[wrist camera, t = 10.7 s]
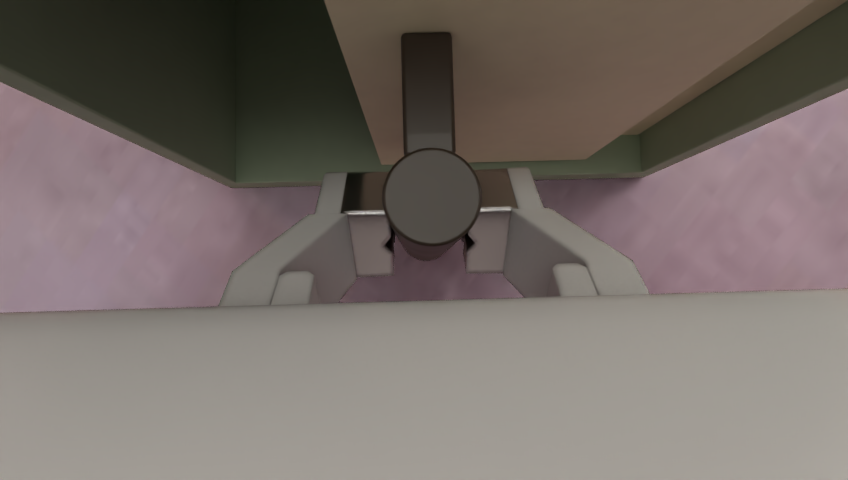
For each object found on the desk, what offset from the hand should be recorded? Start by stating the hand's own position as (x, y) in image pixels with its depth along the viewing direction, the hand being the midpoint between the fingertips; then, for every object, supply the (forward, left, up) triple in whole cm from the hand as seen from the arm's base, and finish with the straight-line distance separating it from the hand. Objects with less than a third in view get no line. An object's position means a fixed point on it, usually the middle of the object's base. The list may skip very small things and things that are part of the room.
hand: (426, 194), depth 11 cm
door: (-1, -2, -7) cm, 8 cm away
